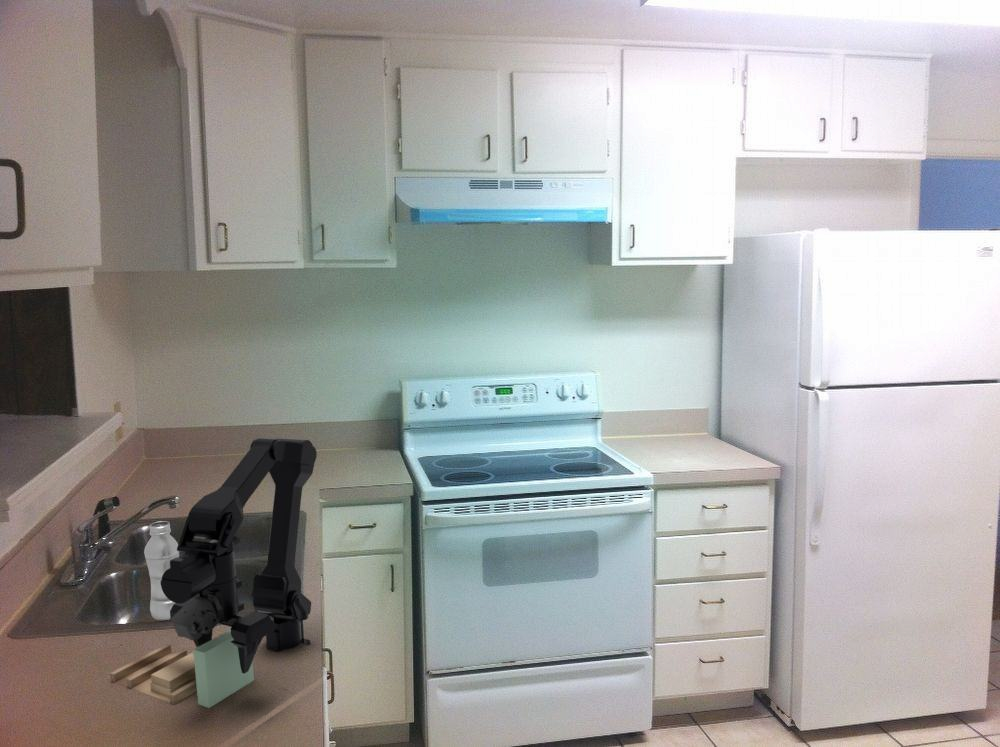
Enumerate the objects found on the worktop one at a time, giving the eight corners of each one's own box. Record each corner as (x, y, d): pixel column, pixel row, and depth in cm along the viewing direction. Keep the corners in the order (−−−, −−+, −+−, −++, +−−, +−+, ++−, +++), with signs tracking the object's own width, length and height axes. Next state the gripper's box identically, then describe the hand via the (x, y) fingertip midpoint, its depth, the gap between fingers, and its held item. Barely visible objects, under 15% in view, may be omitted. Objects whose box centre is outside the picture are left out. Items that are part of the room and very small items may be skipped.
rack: (168, 656, 166) (167, 643, 166) (230, 676, 158) (229, 663, 158) (111, 686, 156) (110, 673, 156) (174, 709, 148) (173, 695, 148)
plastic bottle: (185, 623, 180) (176, 527, 176) (149, 627, 178) (139, 531, 175) (187, 609, 186) (179, 517, 183) (153, 614, 184) (143, 520, 181)
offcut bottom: (197, 665, 161) (196, 657, 161) (217, 671, 158) (216, 663, 158) (150, 691, 152) (150, 682, 152) (171, 698, 150) (170, 690, 150)
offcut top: (193, 659, 160) (193, 651, 159) (212, 665, 157) (211, 657, 157) (151, 682, 152) (150, 674, 152) (170, 689, 150) (169, 681, 150)
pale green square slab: (243, 678, 157) (239, 624, 155) (254, 682, 155) (249, 627, 154) (198, 706, 148) (193, 649, 146) (209, 710, 147) (204, 652, 145)
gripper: (138, 585, 146) (147, 674, 149) (220, 608, 137) (228, 703, 139) (193, 561, 155) (200, 646, 158) (273, 581, 146) (279, 670, 149)
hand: (225, 666), depth 151 cm, fingers open, 9 cm apart
